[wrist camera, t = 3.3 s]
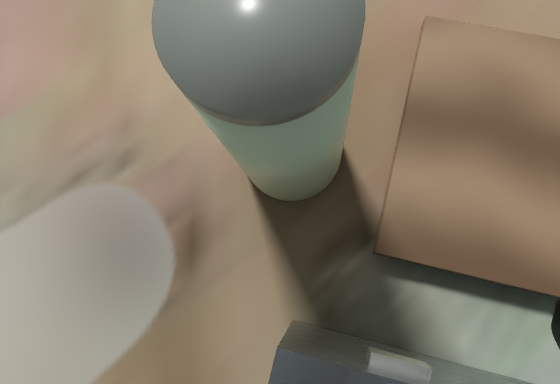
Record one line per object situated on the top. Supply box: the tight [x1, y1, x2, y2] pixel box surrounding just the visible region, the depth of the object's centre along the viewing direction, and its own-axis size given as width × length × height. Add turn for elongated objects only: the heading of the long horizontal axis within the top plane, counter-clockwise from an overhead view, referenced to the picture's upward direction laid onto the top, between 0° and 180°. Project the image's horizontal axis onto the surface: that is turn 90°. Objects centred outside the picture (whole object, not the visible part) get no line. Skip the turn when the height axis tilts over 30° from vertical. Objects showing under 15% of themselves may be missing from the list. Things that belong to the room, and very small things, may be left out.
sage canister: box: [152, 0, 365, 201], centre depth 17 cm, size 5×5×13 cm
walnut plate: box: [373, 16, 560, 298], centre depth 22 cm, size 12×12×1 cm
